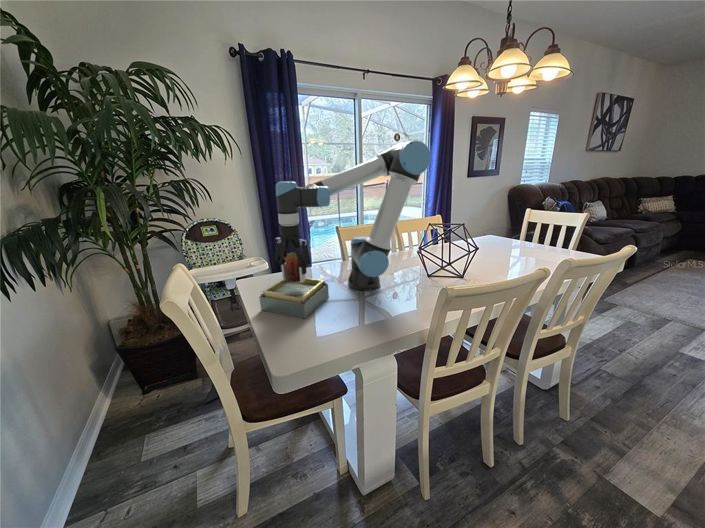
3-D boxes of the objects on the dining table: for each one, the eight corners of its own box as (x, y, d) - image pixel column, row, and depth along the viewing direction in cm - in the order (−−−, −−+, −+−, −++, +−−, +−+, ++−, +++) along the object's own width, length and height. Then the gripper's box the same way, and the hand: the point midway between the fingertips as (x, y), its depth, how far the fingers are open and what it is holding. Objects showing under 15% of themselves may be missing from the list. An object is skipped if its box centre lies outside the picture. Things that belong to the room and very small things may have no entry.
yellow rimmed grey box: (328, 298, 125) (327, 279, 122) (305, 321, 107) (303, 299, 104) (283, 291, 132) (281, 273, 130) (255, 311, 115) (252, 290, 112)
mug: (290, 275, 122) (288, 251, 119) (310, 276, 120) (308, 252, 117) (278, 286, 111) (275, 260, 107) (299, 287, 109) (297, 261, 106)
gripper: (317, 223, 108) (320, 280, 115) (272, 220, 115) (278, 274, 122) (307, 227, 101) (311, 287, 109) (260, 224, 108) (267, 280, 116)
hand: (294, 280), depth 115 cm, fingers closed on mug, 7 cm apart
